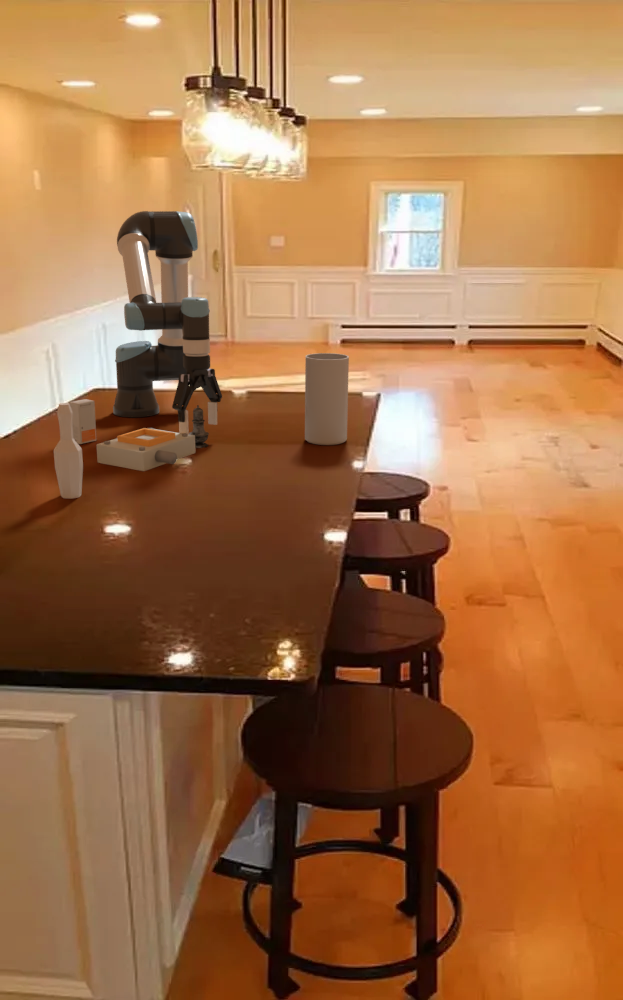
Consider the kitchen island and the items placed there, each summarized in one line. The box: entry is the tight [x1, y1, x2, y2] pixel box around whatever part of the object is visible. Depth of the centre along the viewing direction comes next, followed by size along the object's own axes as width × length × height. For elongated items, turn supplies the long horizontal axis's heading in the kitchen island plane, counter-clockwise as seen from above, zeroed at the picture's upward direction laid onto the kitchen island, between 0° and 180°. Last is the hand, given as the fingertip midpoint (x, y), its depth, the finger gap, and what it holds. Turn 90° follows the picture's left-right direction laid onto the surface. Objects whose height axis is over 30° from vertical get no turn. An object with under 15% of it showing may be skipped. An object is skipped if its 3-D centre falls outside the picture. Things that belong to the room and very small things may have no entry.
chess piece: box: [188, 404, 210, 449], centre depth 251 cm, size 6×6×12 cm
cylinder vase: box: [304, 352, 350, 446], centre depth 257 cm, size 12×12×25 cm
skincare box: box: [68, 398, 97, 445], centre depth 254 cm, size 6×4×12 cm
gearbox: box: [95, 427, 197, 472], centre depth 238 cm, size 22×21×6 cm
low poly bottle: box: [53, 402, 84, 499], centre depth 203 cm, size 6×6×22 cm
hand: (198, 428), depth 251 cm, fingers open, 13 cm apart
